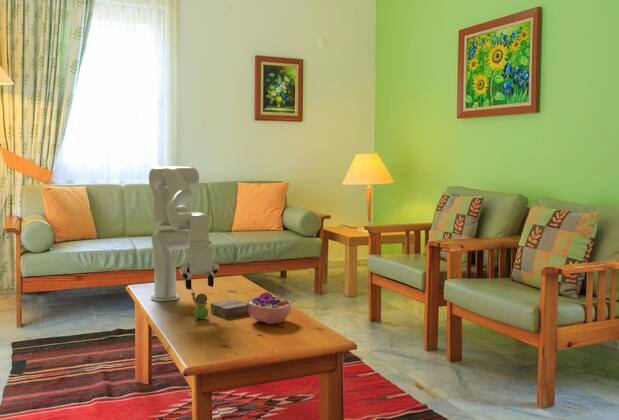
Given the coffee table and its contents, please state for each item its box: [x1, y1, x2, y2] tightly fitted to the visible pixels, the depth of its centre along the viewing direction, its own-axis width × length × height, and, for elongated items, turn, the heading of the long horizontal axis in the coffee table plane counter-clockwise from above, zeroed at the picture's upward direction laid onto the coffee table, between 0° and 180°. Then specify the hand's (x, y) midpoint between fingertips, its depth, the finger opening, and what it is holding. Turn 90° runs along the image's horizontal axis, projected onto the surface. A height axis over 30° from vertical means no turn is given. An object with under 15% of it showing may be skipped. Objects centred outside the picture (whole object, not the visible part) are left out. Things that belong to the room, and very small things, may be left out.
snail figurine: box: [190, 289, 209, 320], centre depth 250 cm, size 5×6×12 cm
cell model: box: [245, 292, 292, 325], centre depth 246 cm, size 17×20×11 cm
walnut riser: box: [210, 299, 250, 320], centre depth 260 cm, size 12×12×4 cm
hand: (199, 287), depth 250 cm, fingers open, 9 cm apart
